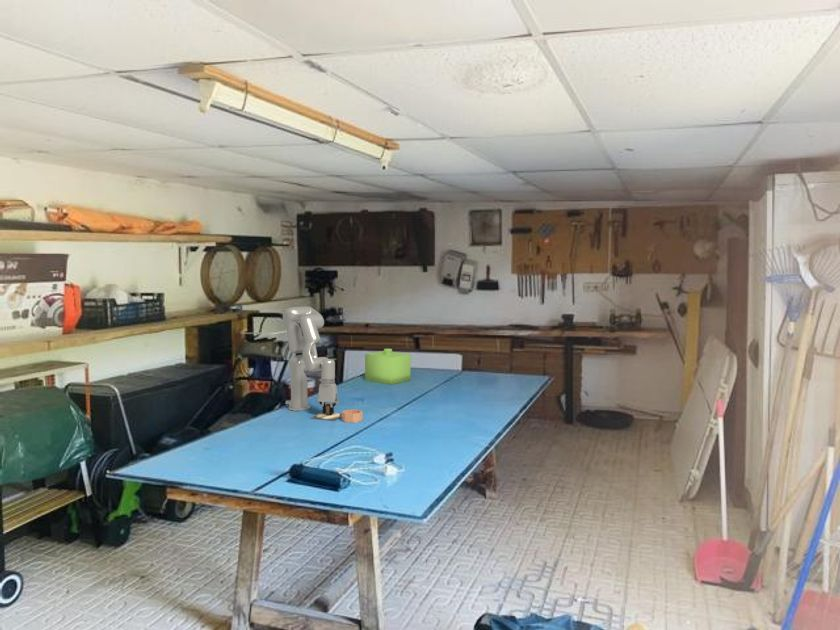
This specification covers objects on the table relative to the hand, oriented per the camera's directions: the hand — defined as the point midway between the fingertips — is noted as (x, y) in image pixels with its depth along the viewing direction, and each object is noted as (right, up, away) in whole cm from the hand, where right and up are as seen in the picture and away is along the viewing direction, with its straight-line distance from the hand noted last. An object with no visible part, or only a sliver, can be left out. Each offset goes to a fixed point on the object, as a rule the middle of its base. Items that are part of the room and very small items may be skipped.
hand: (328, 413), depth 366 cm
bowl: (+14, -3, -6) cm, 16 cm away
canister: (+28, +7, +109) cm, 113 cm away
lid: (0, -2, 0) cm, 2 cm away
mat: (0, -2, 0) cm, 2 cm away
